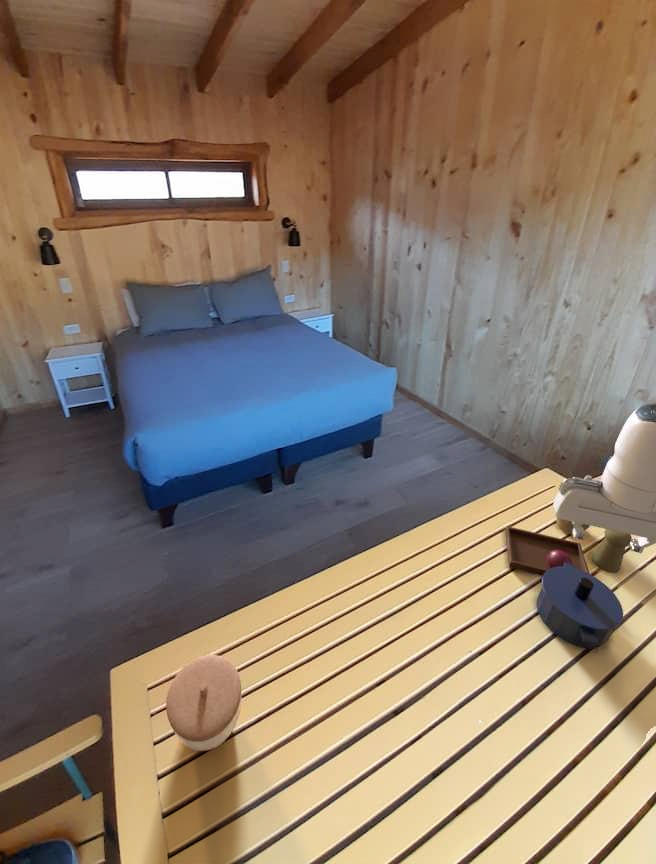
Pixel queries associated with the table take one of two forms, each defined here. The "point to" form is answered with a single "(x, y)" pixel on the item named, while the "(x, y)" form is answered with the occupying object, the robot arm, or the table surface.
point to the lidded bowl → (204, 702)
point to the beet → (558, 558)
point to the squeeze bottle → (568, 525)
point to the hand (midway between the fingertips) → (605, 542)
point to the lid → (582, 598)
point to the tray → (539, 551)
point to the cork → (611, 551)
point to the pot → (569, 625)
